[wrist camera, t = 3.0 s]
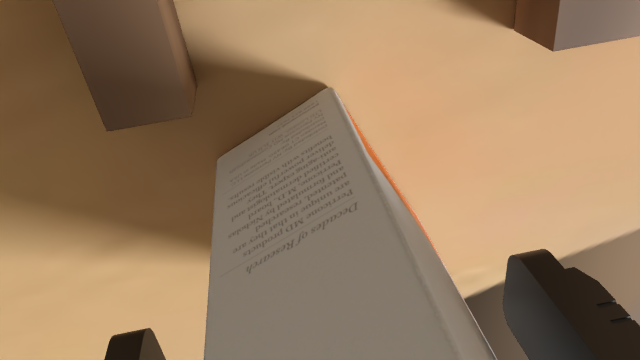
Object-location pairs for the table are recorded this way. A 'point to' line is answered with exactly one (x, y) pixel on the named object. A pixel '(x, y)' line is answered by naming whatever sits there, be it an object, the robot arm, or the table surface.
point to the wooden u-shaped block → (177, 74)
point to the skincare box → (325, 253)
